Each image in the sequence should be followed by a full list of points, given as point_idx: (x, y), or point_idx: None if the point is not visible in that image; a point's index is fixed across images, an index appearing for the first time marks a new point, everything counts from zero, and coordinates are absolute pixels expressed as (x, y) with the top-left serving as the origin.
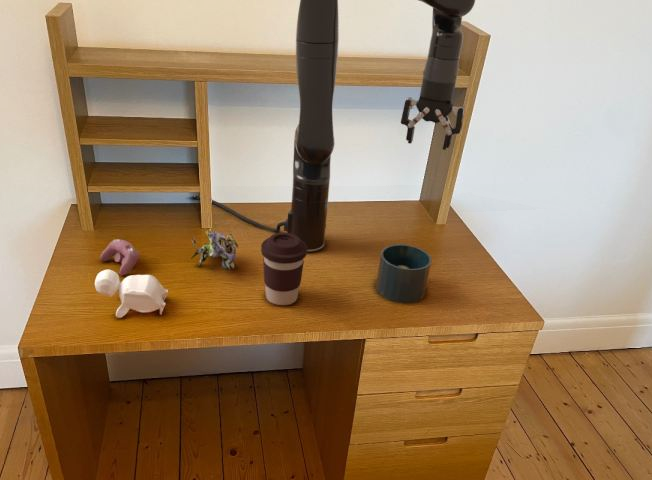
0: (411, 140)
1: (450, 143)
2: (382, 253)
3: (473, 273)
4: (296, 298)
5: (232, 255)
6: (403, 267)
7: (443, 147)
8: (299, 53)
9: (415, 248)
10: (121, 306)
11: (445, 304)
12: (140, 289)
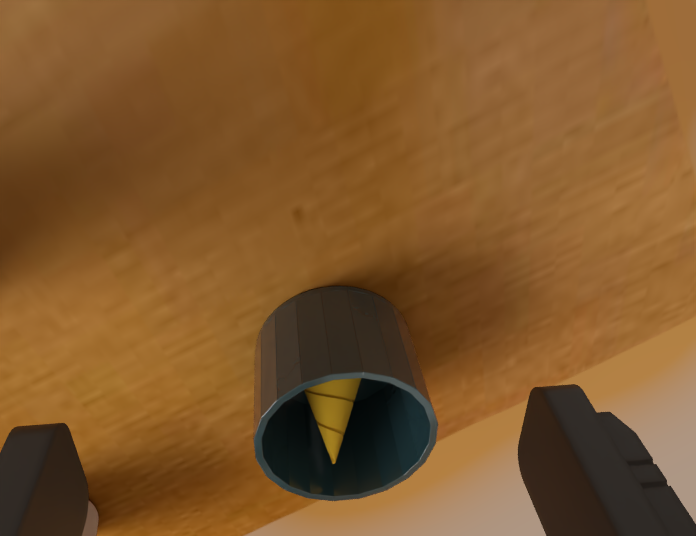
0: (75, 520)
1: (642, 450)
2: (263, 460)
3: (570, 140)
4: (97, 517)
5: None
6: (335, 385)
7: (533, 488)
8: None
9: (365, 377)
10: None
11: (475, 352)
12: None
